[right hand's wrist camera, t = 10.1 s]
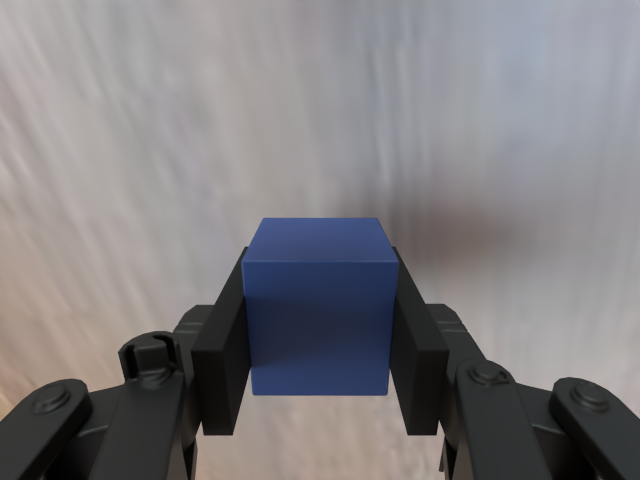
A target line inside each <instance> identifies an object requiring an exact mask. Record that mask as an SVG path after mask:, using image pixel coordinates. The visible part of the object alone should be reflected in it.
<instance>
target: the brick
mask: <svg viewBox="0 0 640 480" xmlns="http://www.w3.org/2000/svg"><path fill="white" fill-rule="evenodd" d="M241 266H242V277H243V289H244V298H245V309H246V321H247V332H248V344H249V356H250V370H251V381H252V393H253V395H326V396H386V395H387V393H388V383H389V372H390V358H391V347H392V335H393V324H394V313H395V301H396V292H397V281H398V269H399V261H398V259H397V257H396V255H395V253H394V251H393V249H392V247H391V245H390V243H389V241H388V239H387V237H386V235H385V233H384V231H383V229H382V227H381V225H380V223H379V221H378V219H377V218H263V220H262V222H261V224H260V226H259V228H258V230H257V231H256V233H255V235H254V237H253V239H252V241H251V243H250V245H249V247H248V249H247V251H246V253H245V255H244V257H243V259H242V261H241Z"/></svg>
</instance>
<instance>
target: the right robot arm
mask: <svg viewBox="0 0 640 480" xmlns="http://www.w3.org/2000/svg"><path fill="white" fill-rule="evenodd" d="M247 249H248V247H245V248H244V250H243V252H242V254H241V256H240V257H239V259H238V261H237V263H236V265H235V267H234V269H233V271H232V273H231V274H230V276H229V278H228V280H227V282H226V284H225V286H224V288H223V290H222V291H221V293H220V295H219V297H218V299H217V301H216V303H215V305H196V306H194V307H193V308H192V309H190V310H189V311H187V312H186V313H185V314H184V315H183V317H182V319H181V320H180V322H179V323H178V325H177V326H176V328H175V329H174V331H173V333H171V332H167V331H154V332H150V333H145V334H142V335H140V336H137V337H135V338H133V339H131V340H130V341H128V342H127V343H126V344H124V345H123V346H122V348H121V349H120V350H119V352H118V354H119V358H120V362H121V366H122V370H123V374H124V378H125V383H124V384H123V385H119V386H116V387H112V388H108V389H103V390H99V391H95V392H90V393H89V392H88V389H87V385H86V384H85V383H84V382H83V381H81V380H77V379H64V380H59V381H55V382H52V383H49V384H46V385H45V386H43V387H41V388H39V389H37V390H35V391H33V392H32V393H31V394H29V395H28V396H27V397H26V398H24V399H23V400H22V401H21V402H20V403H19V404H18V405H17V406H16V407H15V408H14V409H13V410H12V411H11V412H10V413H9V414H8V415H7V416H6V417H5V418H4V419H3V420H2V421H1V422H0V480H195V472H196V462H197V451H198V450H197V443H196V437H195V436H196V434H197V431H198V428H199V426H200V423H201V421H202V427H203V433H204V435H233V432H234V428H235V424H236V420H237V417H238V413H239V409H240V405H241V401H242V398H243V394H244V390H245V386H246V383H247V379H248V375H249V371H250V356H249V344H248V332H247V321H246V309H245V298H244V289H243V277H242V266H241V261H242V259H243V257H244V255H245V253H246V251H247ZM392 249H393V251H394V253H395V255H396V257H397V259H398V261H399V269H398V281H397V292H396V301H395V313H394V324H393V335H392V347H391V358H390V370H391V374H392V378H393V382H394V385H395V389H396V393H397V397H398V400H399V404H400V408H401V412H402V416H403V419H404V423H405V427H406V431H407V434H408V435H437V429H438V422H439V420H440V423H441V426H442V428H443V431H444V434H445V437H444V443H443V449H442V455H441V460H440V467H439V471H440V472H443V471H444V472H445V480H601V479H602V480H640V419H639V418H638V417H637V416H636V415H635V414H634V413H633V412H632V411H631V410H630V409H629V408H628V407H627V406H626V405H625V404H624V403H623V402H622V401H621V400H620V399H619V398H617V397H616V396H615V395H613V394H612V393H611V392H610V391H608V390H607V389H605V388H603V387H601V386H599V385H597V384H595V383H593V382H590V381H587V380H584V379H580V378H572V377H567V378H561V379H559V380H558V381H556V382H555V383H554V386H553V390H552V391H548V390H543V389H539V388H534V387H530V386H526V385H522V384H519V383H516V382H515V380H514V378H513V377H512V375H511V374H510V373H509V372H508V371H507V370H506V369H504V368H503V367H502V366H500V365H498V364H496V363H494V362H492V361H489V360H486V358H485V357H484V355H483V353H482V352H481V350H480V349H479V347H478V346H477V344H476V343H475V341H474V340H473V338H472V337H471V335H470V334H469V332H467V329H466V327H465V326H464V324H462V321H461V320H460V318H459V317H458V315H457V314H456V312H455V311H453V310H452V309H450V308H449V307H448V306H446V305H445V304H425V302H424V300H423V298H422V297H421V295H420V293H419V291H418V289H417V287H416V285H415V283H414V281H413V280H412V278H411V276H410V274H409V272H408V270H407V268H406V266H405V264H404V263H403V261H402V259H401V257H400V255H399V253H398V251H397V249H396V247H392Z"/></svg>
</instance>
